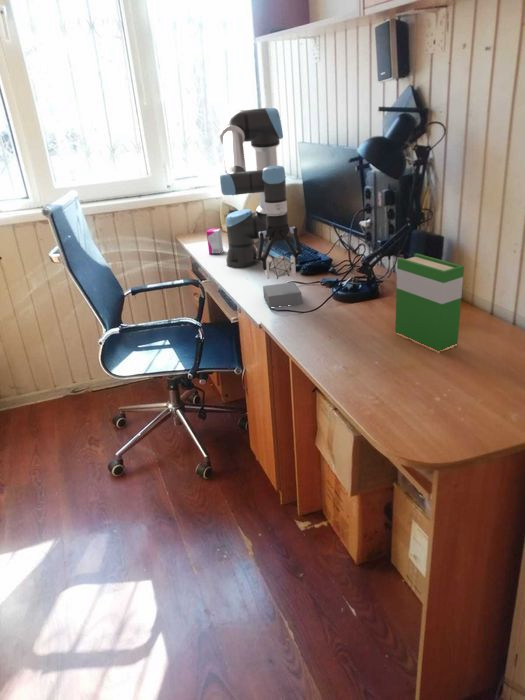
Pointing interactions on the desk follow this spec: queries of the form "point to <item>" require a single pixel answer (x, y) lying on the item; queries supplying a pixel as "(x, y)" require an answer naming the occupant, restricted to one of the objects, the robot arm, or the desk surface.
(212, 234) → the supplement box
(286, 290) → the base block
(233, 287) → the desk surface
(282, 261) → the game die
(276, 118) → the robot arm
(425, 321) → the hardback book
